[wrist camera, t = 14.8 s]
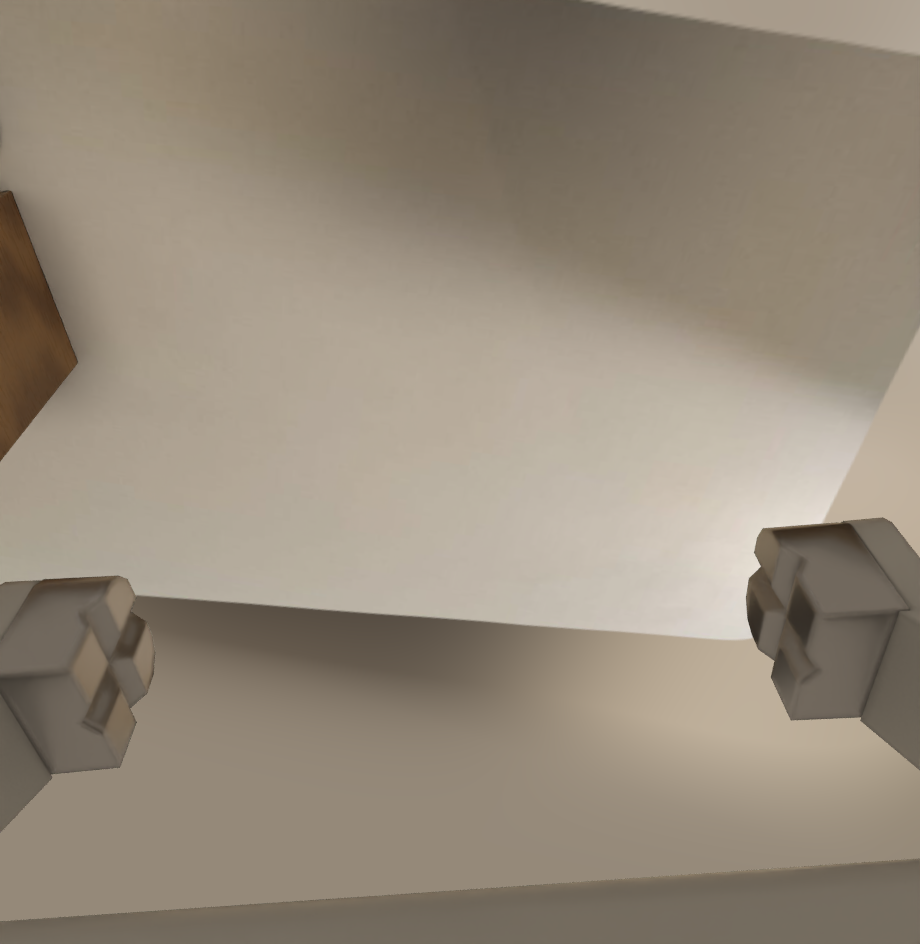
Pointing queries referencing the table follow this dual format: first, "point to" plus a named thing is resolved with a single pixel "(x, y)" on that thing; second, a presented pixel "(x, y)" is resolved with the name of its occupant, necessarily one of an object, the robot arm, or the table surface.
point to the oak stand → (26, 331)
